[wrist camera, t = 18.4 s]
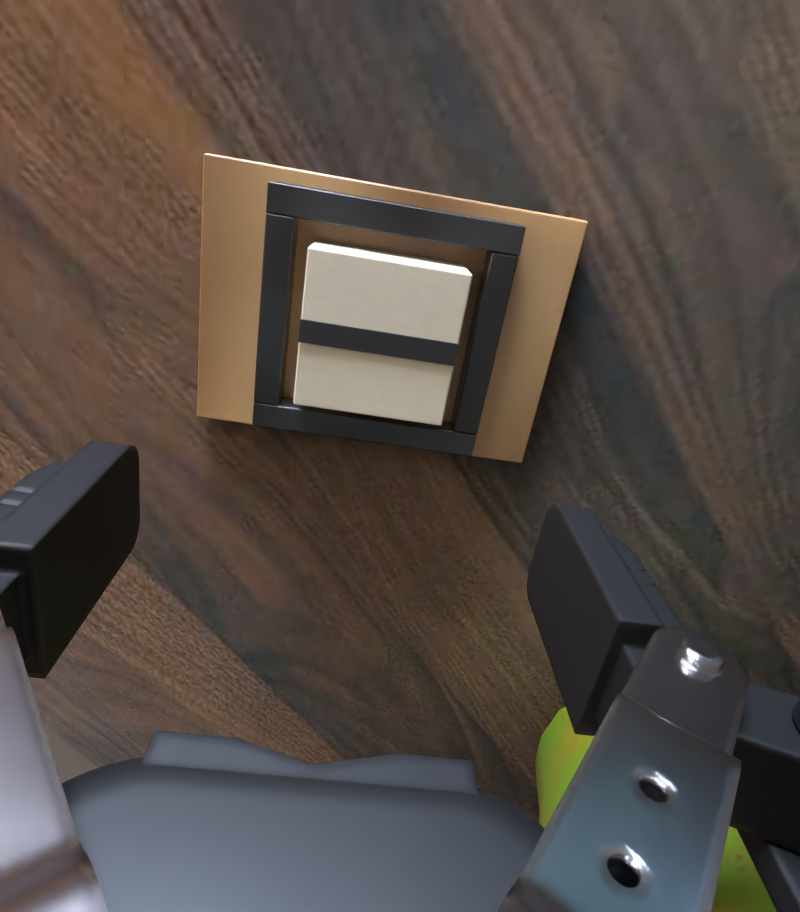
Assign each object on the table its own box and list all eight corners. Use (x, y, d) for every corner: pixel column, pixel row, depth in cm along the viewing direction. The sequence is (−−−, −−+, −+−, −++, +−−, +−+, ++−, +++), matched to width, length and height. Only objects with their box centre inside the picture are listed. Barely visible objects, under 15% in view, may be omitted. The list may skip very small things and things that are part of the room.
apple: (775, 688, 34) (944, 914, 23) (649, 820, 38) (745, 1057, 28) (582, 616, 31) (676, 832, 21) (473, 766, 36) (507, 1003, 26)
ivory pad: (301, 382, 25) (292, 405, 22) (316, 239, 22) (307, 247, 20) (436, 402, 25) (441, 427, 23) (464, 264, 23) (473, 275, 20)
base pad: (203, 408, 26) (187, 428, 24) (210, 153, 22) (192, 151, 20) (518, 454, 27) (528, 476, 25) (581, 219, 23) (599, 224, 21)
